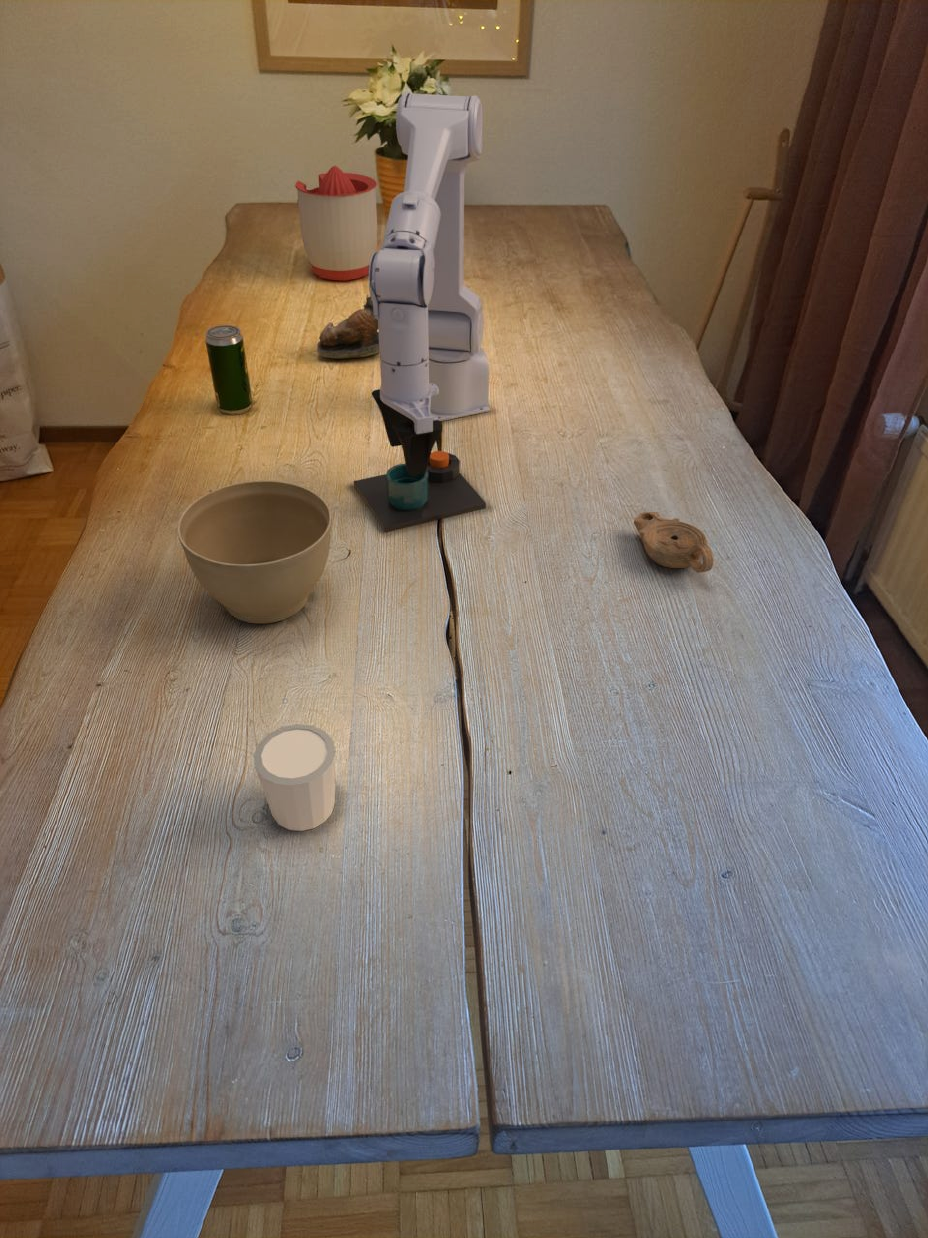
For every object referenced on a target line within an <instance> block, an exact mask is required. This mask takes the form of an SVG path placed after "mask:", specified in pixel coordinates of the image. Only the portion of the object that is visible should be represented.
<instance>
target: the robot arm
mask: <svg viewBox="0 0 928 1238" xmlns="http://www.w3.org/2000/svg"><path fill="white" fill-rule="evenodd" d="M395 115H396V117H395V128H396V138H397V142H398V145H399V146H400V147H401V152H402V153H403V154H404V155H407V161H406V168H405V169H406V171H405V180H404V189H403V192H400V193H398V194H397V195H396V196H395V197H394V198H393V199H392V201H391V205H390V208H389V212H388V217H387V222H386V225H385V229H384V233H383V239H382V243H381V247H380V249H379V250H378V252H377V251H376V252H374V253H373V254H372V256H371V260H370V266H369V273H368V289H369V297H370V296H371V300H372V302H373V310H374V317H375V319H377V320H378V330H377V332H379V351H380V353H379V369H380V370H379V371H380V386H379V389H374V390H373V391H372V392H371V396H372V398H373V399H374V401H375V402H376V405H377V408H378V409H379V411H380V414H381V417H382V420H383V424H384V428H385V432H386V436H387V439H388V442H389V444H390V446H391V448H393V447H399V446H401V448H402V453H403V458H404V464H406V468H407V471H408V474H409V475H410V476H415V475H421V474H425V473H426V470H427V466H428V463H429V458H430V455H431V453H432V452H433V448H434V446H435V444H436V442H437V440H438V438H439V437H440V435H442V432H443V424H442V422H444V421H449V420H455V419H458V418H463V417H468V416H469V417H470V416H473V415H478V414H484V413H487V412H488V413H489V412H491V407H490V406H489V396H490V393H489V392H490V364H489V360H488V356H487V353H486V352H485V350H484V349H483V348H482V346H483V345H482V344H483V337H484V325H485V321H484V313H483V301H482V298H481V296H480V295H478V294H477V293H476V292H475V291H473V290H472V289H470V288H469V287H467V285H465V283H464V258H465V257H464V252H465V251H464V249H465V248H464V245H465V242H464V241H465V175H466V171H467V168H468V164H470V163H473V162H477V161H479V160H481V155H482V152H483V125H484V124H483V122H484V121H483V120H484V119H483V117H484V116H483V115H484V114H483V103H482V101H481V99H480V98H479V96H478V95H476V94H472V95H452V94H451V95H450V94H429V93H411V92H410V91H404V92H403V93H402V95H401V96H400V97H399V99H398V101H397V106H396V114H395Z"/></svg>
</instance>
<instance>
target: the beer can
mask: <svg viewBox="0 0 928 1238" xmlns="http://www.w3.org/2000/svg"><path fill="white" fill-rule="evenodd" d="M205 336H206V337H205V340H204V341H205V346H206V351H207V358H208V363H209V370H210V374H211V381H212V386H213V391H214V392H213V393H214V397H215V403H216V406H217V409H218V410H219V411H220V412H221V413H223V414H224V415H231V416H233V415H241V414H244V413H247V412H248V411H250V410H251V408H252V405H253V396H252V388H251V382H250V375H249V374H250V373H249V368H248V363H247V355H246V349H245V342H244V336H243V335H242V333H241V328H239V327H237V326H235V325H230V324H221V325H215V326H212V327H210V328H208V329H207V330H206V331H205Z"/></svg>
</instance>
